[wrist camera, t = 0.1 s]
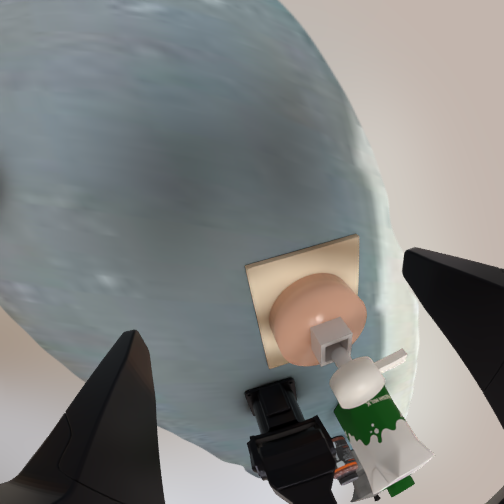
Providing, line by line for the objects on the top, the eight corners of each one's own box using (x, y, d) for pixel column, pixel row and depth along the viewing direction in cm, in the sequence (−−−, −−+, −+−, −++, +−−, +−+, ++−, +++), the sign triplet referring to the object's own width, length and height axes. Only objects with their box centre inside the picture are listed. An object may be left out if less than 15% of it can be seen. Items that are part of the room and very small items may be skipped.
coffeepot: (335, 465, 62) (356, 511, 46) (329, 460, 57) (353, 511, 42) (381, 441, 62) (406, 484, 46) (380, 433, 57) (409, 482, 42)
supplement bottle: (321, 441, 48) (340, 483, 38) (346, 432, 49) (367, 472, 39) (316, 450, 50) (333, 489, 40) (340, 442, 51) (358, 480, 42)
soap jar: (348, 327, 31) (373, 361, 25) (275, 353, 30) (292, 394, 24) (350, 261, 26) (384, 294, 21) (262, 289, 25) (282, 332, 20)
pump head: (382, 346, 24) (408, 380, 20) (317, 374, 23) (338, 414, 19) (388, 317, 22) (419, 352, 18) (316, 346, 21) (342, 390, 17)
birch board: (352, 335, 32) (354, 338, 32) (268, 365, 31) (269, 369, 31) (355, 233, 26) (359, 236, 25) (244, 265, 24) (246, 268, 24)
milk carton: (327, 415, 42) (373, 507, 24) (344, 384, 38) (404, 488, 20) (367, 403, 44) (415, 483, 26) (386, 372, 40) (447, 460, 23)
